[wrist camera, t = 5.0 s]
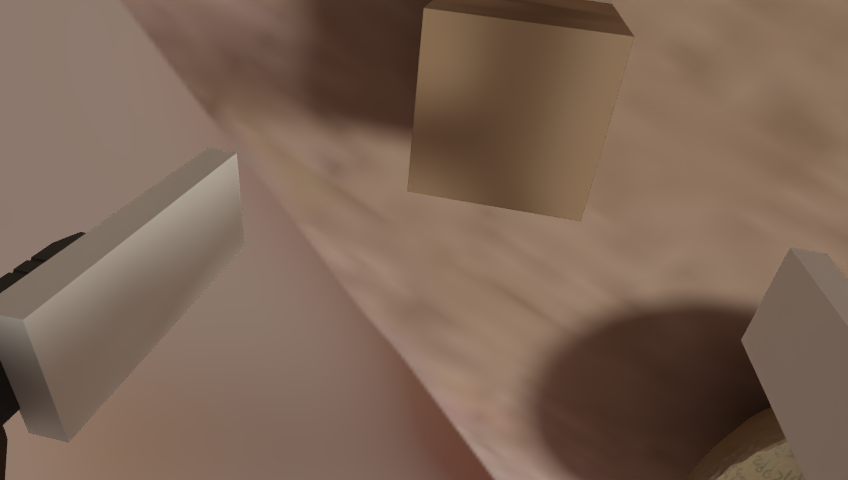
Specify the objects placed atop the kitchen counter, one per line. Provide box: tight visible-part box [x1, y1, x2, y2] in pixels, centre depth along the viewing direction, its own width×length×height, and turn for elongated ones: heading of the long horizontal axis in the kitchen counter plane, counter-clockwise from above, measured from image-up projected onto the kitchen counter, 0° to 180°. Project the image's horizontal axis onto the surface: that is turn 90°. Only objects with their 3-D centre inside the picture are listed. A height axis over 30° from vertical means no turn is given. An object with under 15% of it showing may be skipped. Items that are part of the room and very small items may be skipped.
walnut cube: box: [407, 0, 634, 221], centre depth 23 cm, size 7×7×7 cm
